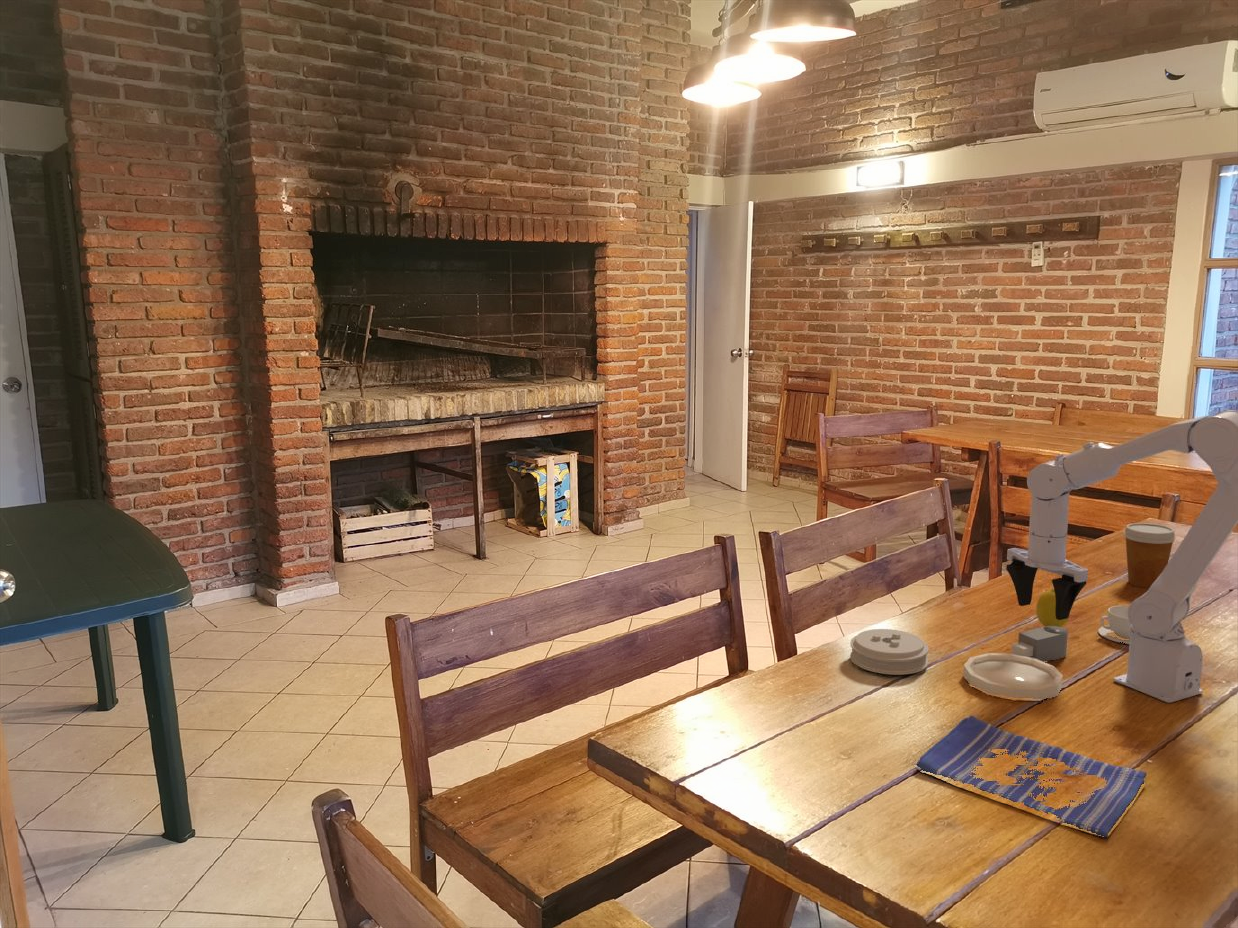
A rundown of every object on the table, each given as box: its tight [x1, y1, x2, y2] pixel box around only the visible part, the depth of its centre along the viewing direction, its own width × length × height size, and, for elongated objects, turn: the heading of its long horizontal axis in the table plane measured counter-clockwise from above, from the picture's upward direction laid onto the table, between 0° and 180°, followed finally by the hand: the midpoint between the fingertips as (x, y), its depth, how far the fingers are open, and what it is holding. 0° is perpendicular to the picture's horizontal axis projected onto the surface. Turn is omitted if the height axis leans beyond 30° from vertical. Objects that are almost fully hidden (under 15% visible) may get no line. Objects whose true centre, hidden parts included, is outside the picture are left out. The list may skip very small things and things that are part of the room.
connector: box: [1011, 626, 1069, 662], centre depth 155 cm, size 4×10×4 cm, turn 114°
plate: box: [963, 652, 1064, 699], centre depth 146 cm, size 14×14×2 cm
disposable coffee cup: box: [1122, 522, 1177, 589], centre depth 191 cm, size 10×10×12 cm
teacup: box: [1097, 605, 1131, 645], centre depth 163 cm, size 10×10×5 cm
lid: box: [849, 628, 930, 676], centre depth 154 cm, size 13×13×5 cm
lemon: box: [1035, 588, 1071, 628], centre depth 167 cm, size 6×6×8 cm
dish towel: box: [915, 715, 1148, 839], centre depth 118 cm, size 17×24×3 cm
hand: (1042, 611), depth 154 cm, fingers open, 7 cm apart
